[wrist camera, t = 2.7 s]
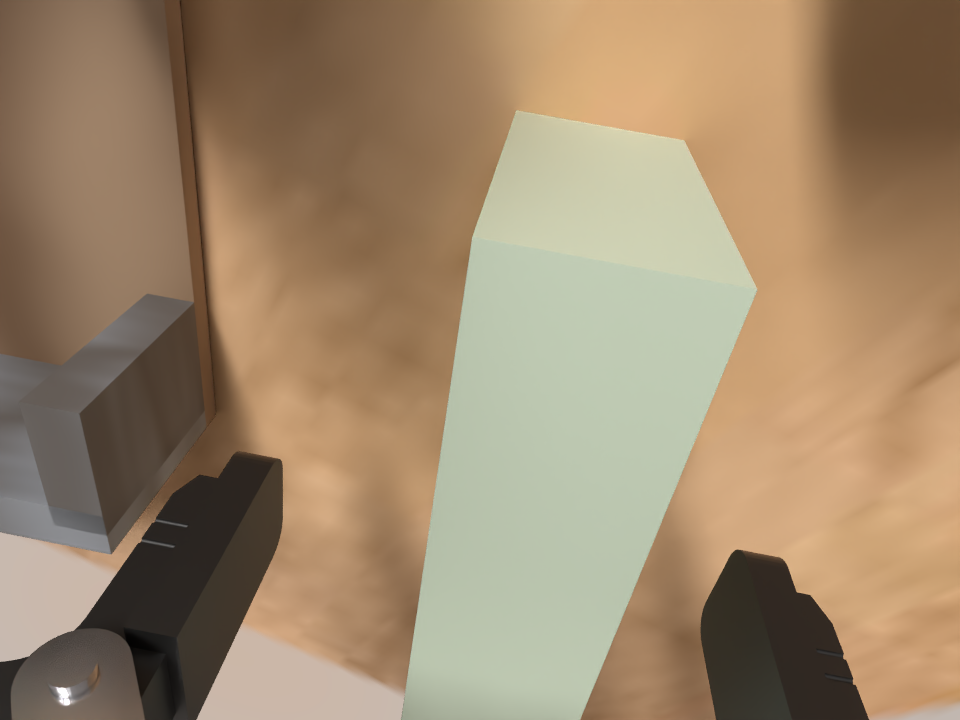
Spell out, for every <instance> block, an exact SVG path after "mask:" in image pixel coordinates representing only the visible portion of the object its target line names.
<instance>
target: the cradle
mask: <svg viewBox="0 0 960 720" xmlns="http://www.w3.org/2000/svg"><path fill="white" fill-rule="evenodd" d="M215 415H216V408H215V396H214V385H213V374H212V362H211V351H210V339H209V328H208V317H207V305H206V294H205V282H204V271H203V260H202V248H201V237H200V225H199V214H198V202H197V191H196V180H195V168H194V157H193V145H192V134H191V123H190V111H189V100H188V88H187V77H186V66H185V54H184V43H183V31H182V20H181V9H180V0H0V532H2V533H7V534H12V535H17V536H22V537H27V538H32V539H37V540H42V541H47V542H52V543H57V544H62V545H67V546H71V547H76V548H81V549H86V550H91V551H96V552H101V553H106V554H112V553H113V551H114V550H115V549H116V547H117V546H118V545H119V543H120V542H121V541H122V539H123V538H124V537H125V535H126V534H127V533H128V531H129V530H130V529H131V527H132V526H133V525H134V523H135V522H136V521H137V519H138V518H139V517H140V515H141V514H142V513H143V511H144V510H145V509H146V507H147V506H148V505H149V503H150V502H151V501H152V499H153V498H154V497H155V495H156V494H157V493H158V491H159V490H160V489H161V487H162V486H163V485H164V483H165V482H166V481H167V479H168V478H169V477H170V475H171V474H172V473H173V471H174V470H175V469H176V467H177V466H178V465H179V463H180V462H181V461H182V459H183V458H184V457H185V455H186V454H187V453H188V451H189V450H190V449H191V447H192V446H193V445H194V443H195V442H196V441H197V439H198V438H199V437H200V435H201V434H202V433H203V431H204V430H205V429H206V427H207V426H208V425H209V423H210V422H211V421H212V419H213V418H214V417H215Z"/></svg>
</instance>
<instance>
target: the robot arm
mask: <svg viewBox="0 0 960 720" xmlns="http://www.w3.org/2000/svg"><path fill="white" fill-rule="evenodd" d="M282 522H283V467H282V461H281V460H280V459H277V458H272V457H266V456H261V455H256V454H251V453H246V452H241V451H238V452H236V453H235V454H234V455H233V456H232V458H231V459H230V461H229V462H228V464H227V465H226V467H225V468H224V470H223V472H222V473H221V475H220V476H219V478H214V477H209V476H203V475H199V476H197V477H196V478H194V479H193V480H192V481H190V482H189V483H187V484H186V485H184V486H183V487H182V488H180V489H179V490H177V491H176V492H175V493H173V494H172V496H171V497H170V499H169V500H168V501H167V503H166V504H165V506H164V507H163V509H162V510H161V511H160V513H159V514H158V516H157V517H156V521H155V523H152V524H151V526H150V527H149V529H148V530H147V531H146V533H145V534H144V536H143V537H142V541H141V543H138V544H137V546H136V547H135V548H134V550H133V551H132V553H131V554H130V556H129V557H128V558H127V560H126V561H125V563H124V564H123V566H122V567H121V568H120V570H119V571H118V573H117V574H116V576H115V577H114V578H113V580H112V581H111V583H110V584H109V586H108V587H107V588H106V590H105V591H104V593H103V594H102V596H101V597H100V598H99V600H98V601H97V603H96V604H95V605H94V607H93V608H92V610H91V611H90V613H89V614H88V615H87V617H86V618H85V619H84V621H83V622H82V623H81V624H80V625H79V626H78V627H77V628H76V629H75V630H74V631H71V632H68V633H65V634H62V635H60V636H58V637H56V638H54V639H52V640H50V641H48V642H47V643H45V644H44V645H42V646H41V647H39V648H38V649H37V650H36V651H35V652H33V653H32V654H31V655H30V656H29V657H25V658H22V659H18V660H12V661H6V662H0V720H196V719H197V717H198V715H199V713H200V711H201V709H202V706H203V704H204V702H205V700H206V698H207V696H208V694H209V692H210V690H211V687H212V685H213V683H214V681H215V679H216V676H217V675H218V673H219V670H220V668H221V666H222V664H223V662H224V660H225V658H226V656H227V653H228V651H229V649H230V647H231V645H232V643H233V641H234V639H235V636H236V634H237V632H238V630H239V628H240V626H241V624H242V622H243V620H244V617H245V615H246V613H247V611H248V609H249V607H250V605H251V603H252V600H253V598H254V596H255V594H256V592H257V590H258V588H259V586H260V583H261V581H262V579H263V577H264V575H265V573H266V571H267V569H268V566H269V564H270V562H271V560H272V558H273V556H274V553H275V551H276V548H277V545H278V542H279V538H280V534H281V529H282ZM701 641H702V647H703V652H704V657H705V663H706V668H707V673H708V678H709V684H710V689H711V694H712V700H713V705H714V710H715V716H716V720H869V718H868V716H867V713H866V711H865V708H864V705H863V703H862V700H861V698H860V695H859V692H858V690H857V687H856V685H853V677H852V674H851V671H850V669H849V666H848V664H847V661H846V660H844V659H843V654H844V653H843V650H842V648H841V645H840V643H839V640H838V637H837V635H836V632H835V629H834V627H833V624H832V623H831V621H830V620H829V619H828V617H827V616H826V615H825V614H824V612H823V611H822V610H821V608H820V607H819V606H818V605H817V603H816V602H815V601H814V599H813V598H812V597H811V596H810V595H807V594H802V593H797V592H796V589H795V587H794V584H793V581H792V578H791V575H790V572H789V569H788V567H787V564H786V563H785V561H784V560H783V559H781V558H779V557H774V556H768V555H763V554H758V553H753V552H748V551H743V550H735V551H734V552H733V553H732V554H731V556H730V557H729V559H728V561H727V563H726V565H725V567H724V569H723V571H722V573H721V574H720V576H719V578H718V580H717V582H716V584H715V586H714V588H713V590H712V592H711V594H710V595H709V597H708V599H707V601H706V603H705V606H704V609H703V613H702V618H701Z"/></svg>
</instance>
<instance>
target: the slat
mask: <svg viewBox="0 0 960 720" xmlns="http://www.w3.org/2000/svg"><path fill="white" fill-rule="evenodd" d="M756 292H757V288H756V286H755V284H754V282H753V280H752V277H751V275H750V273H749V271H748V269H747V267H746V265H745V263H744V261H743V259H742V257H741V255H740V253H739V251H738V249H737V247H736V245H735V243H734V241H733V239H732V237H731V235H730V233H729V231H728V229H727V227H726V225H725V223H724V220H723V218H722V216H721V214H720V212H719V210H718V208H717V206H716V204H715V202H714V200H713V198H712V196H711V194H710V192H709V190H708V188H707V186H706V184H705V182H704V180H703V178H702V176H701V174H700V172H699V170H698V168H697V166H696V164H695V161H694V159H693V157H692V155H691V153H690V151H689V149H688V147H687V145H686V143H685V141H684V140H679V139H674V138H668V137H663V136H657V135H651V134H646V133H640V132H635V131H629V130H624V129H618V128H613V127H607V126H601V125H596V124H590V123H585V122H579V121H574V120H568V119H563V118H557V117H552V116H546V115H540V114H535V113H529V112H524V111H518V110H516V113H515V116H514V119H513V122H512V124H511V127H510V130H509V133H508V136H507V139H506V142H505V145H504V147H503V150H502V153H501V156H500V159H499V162H498V165H497V168H496V170H495V173H494V176H493V179H492V182H491V185H490V188H489V191H488V193H487V196H486V199H485V202H484V205H483V208H482V211H481V214H480V216H479V219H478V222H477V225H476V228H475V231H474V234H473V236H472V243H471V250H470V256H469V263H468V270H467V277H466V284H465V290H464V297H463V304H462V311H461V317H460V324H459V331H458V338H457V345H456V351H455V358H454V365H453V372H452V378H451V385H450V392H449V399H448V406H447V412H446V419H445V426H444V433H443V439H442V446H441V453H440V460H439V467H438V473H437V480H436V487H435V494H434V500H433V507H432V514H431V521H430V528H429V534H428V541H427V548H426V555H425V561H424V568H423V575H422V582H421V589H420V595H419V602H418V609H417V616H416V623H415V629H414V636H413V643H412V650H411V656H410V663H409V670H408V677H407V684H406V690H405V697H404V704H403V711H402V717H401V720H580V719H581V716H582V714H583V711H584V709H585V707H586V704H587V702H588V699H589V697H590V694H591V692H592V690H593V687H594V685H595V682H596V680H597V677H598V675H599V673H600V670H601V668H602V665H603V663H604V661H605V658H606V656H607V653H608V651H609V648H610V646H611V644H612V641H613V639H614V636H615V634H616V631H617V629H618V627H619V624H620V622H621V619H622V617H623V614H624V612H625V610H626V607H627V605H628V602H629V600H630V597H631V595H632V593H633V590H634V588H635V585H636V583H637V580H638V578H639V576H640V573H641V571H642V568H643V566H644V563H645V561H646V559H647V556H648V554H649V551H650V549H651V547H652V544H653V542H654V539H655V537H656V534H657V532H658V530H659V527H660V525H661V522H662V520H663V517H664V515H665V513H666V510H667V508H668V505H669V503H670V500H671V498H672V496H673V493H674V491H675V488H676V486H677V483H678V481H679V479H680V476H681V474H682V471H683V469H684V466H685V464H686V462H687V459H688V457H689V454H690V452H691V449H692V447H693V445H694V442H695V440H696V437H697V435H698V432H699V430H700V428H701V425H702V423H703V420H704V418H705V416H706V413H707V411H708V408H709V406H710V403H711V401H712V399H713V396H714V394H715V391H716V389H717V386H718V384H719V382H720V379H721V377H722V374H723V372H724V369H725V367H726V365H727V362H728V360H729V357H730V355H731V352H732V350H733V348H734V345H735V343H736V340H737V338H738V335H739V333H740V331H741V328H742V326H743V323H744V321H745V318H746V316H747V314H748V311H749V309H750V306H751V304H752V302H753V299H754V297H755V294H756Z"/></svg>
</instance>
